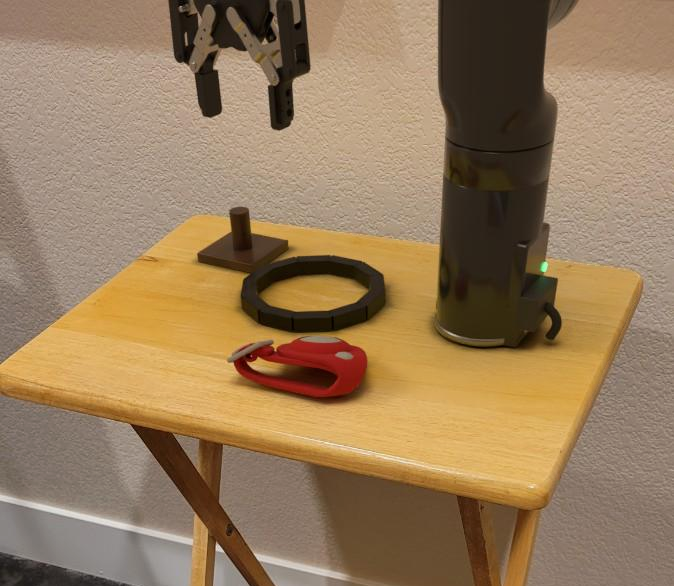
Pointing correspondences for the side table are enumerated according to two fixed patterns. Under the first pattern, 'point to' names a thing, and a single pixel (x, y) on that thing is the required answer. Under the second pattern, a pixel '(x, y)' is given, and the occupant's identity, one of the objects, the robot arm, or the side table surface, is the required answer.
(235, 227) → the ring holder
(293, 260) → the ring
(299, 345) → the tracker holder
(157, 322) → the side table surface
